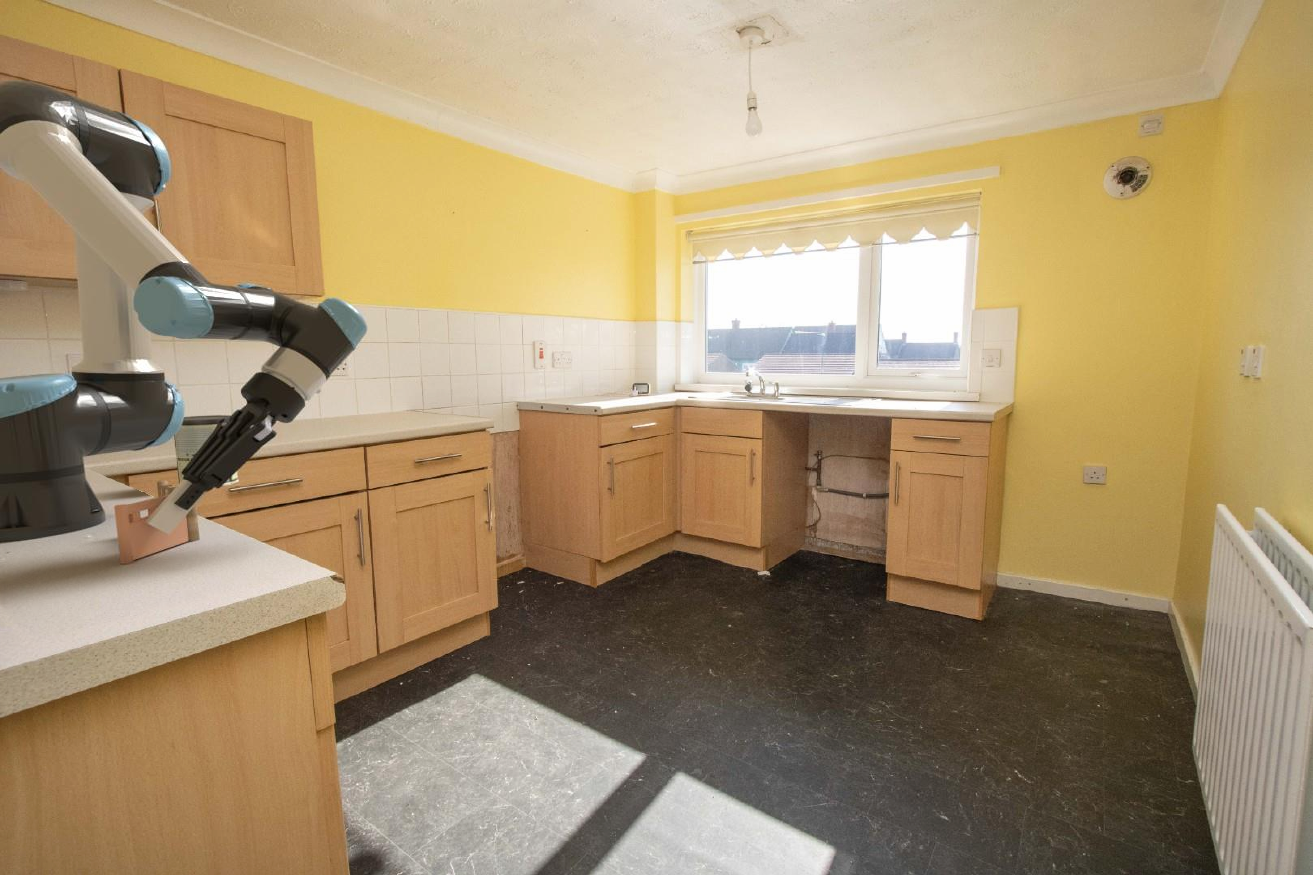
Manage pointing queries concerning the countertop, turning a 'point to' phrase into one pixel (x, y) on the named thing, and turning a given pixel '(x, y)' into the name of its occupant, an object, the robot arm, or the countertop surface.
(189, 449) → the coffee can
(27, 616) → the countertop surface
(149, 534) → the fence gate
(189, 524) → the fence anchor
